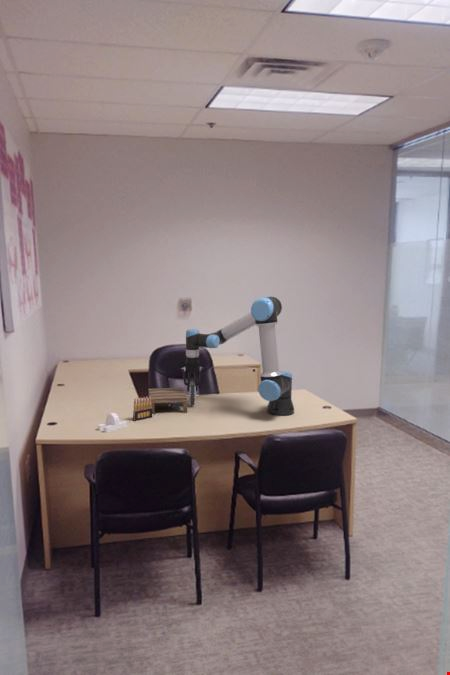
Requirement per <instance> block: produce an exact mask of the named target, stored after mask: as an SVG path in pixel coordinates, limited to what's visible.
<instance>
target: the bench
mask: <svg viewBox="0 0 450 675" xmlns="http://www.w3.org/2000/svg"><path fill="white" fill-rule="evenodd" d="M149 396H150V397H151V408H152V414H153V415H155V404H157V403H161V404H162V403H163V404H164V403H168V402H183V403H182V404H183V406H182V408H183V409H182V412H183V414H187V413H188V403H187V399H188V397H187V395H186V392H185V390H184V388H183V387H161V388H158V387H157V388H148V397H149Z"/></svg>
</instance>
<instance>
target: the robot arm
mask: <svg viewBox="0 0 450 675" xmlns="http://www.w3.org/2000/svg"><path fill="white" fill-rule="evenodd" d="M282 310H283V306H282V302H281V301H280V299H278V298H277V297H275V296H266V297H264V296H263V297H259V298H257V299H256V300H254V302H252V304H251V307H250V312H249V313H247V314H245V315H244V316H242V317H240V318H238V319H237V320H235V321H233V322H231V323H230V324H229V323H228V325H226V326H224V327H222V328H221V329H219V330H217V331H215V332H211V333H207V334H206V333H200V330H199V329H197V328H196V329H195V328H190V329H186V330H185V331H186V332H185V356H186V357H185V366H183V367H181V368H180V369H181V372H182V378H183V383H184V384H183V385H184V386H186V388H187V392H188V396H189V398H190V397H191V385H190V383H191V377H192V374H193V378H194V379H193V380H194V385H195V398H196V395H197V393H196V392H198V389H199V388H198V386H200V385H201V384H202V378H203V372H204V371H205V370H204V369H205V368H204V367H203V366H201V365H200V357H199V356H200V348H206V349H216V348H218V347H219V346H220V345H223V344H225V343H226V342H227V341H228V340H229V341H230V340H231V339H232V338H234V337H236V336H238V335H240V334H241V333H243V332H245V331H247V330H249V329H251V328H253V327H254V326H255V327H257V328H258V333H259V334H258V337H259V347H260V356H261V357H260V358H261V369H262V372H261V374H260V375H259V376H260V377H259V378H260V383H259V384H258V389H257V390H258V394H259V396H260V397H261V398H262V399H263V400H265V401H268V404H267V406H266V412H267V413H268V414H270V415H273V416H291V415H293V414H295V406H294V403H293V400H292V392H293V388H292V387H293V386H292V385H293V374H292V372H289V371H285V370H284V371H282V370H280V368H279V357H278V345H277V335H276V325H277V324H278V317H279V315H281V312H282ZM186 370H187V372H188V373H187V375H186ZM198 370H199V374H198V376H197V372H198ZM186 376H187V377H186Z"/></svg>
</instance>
